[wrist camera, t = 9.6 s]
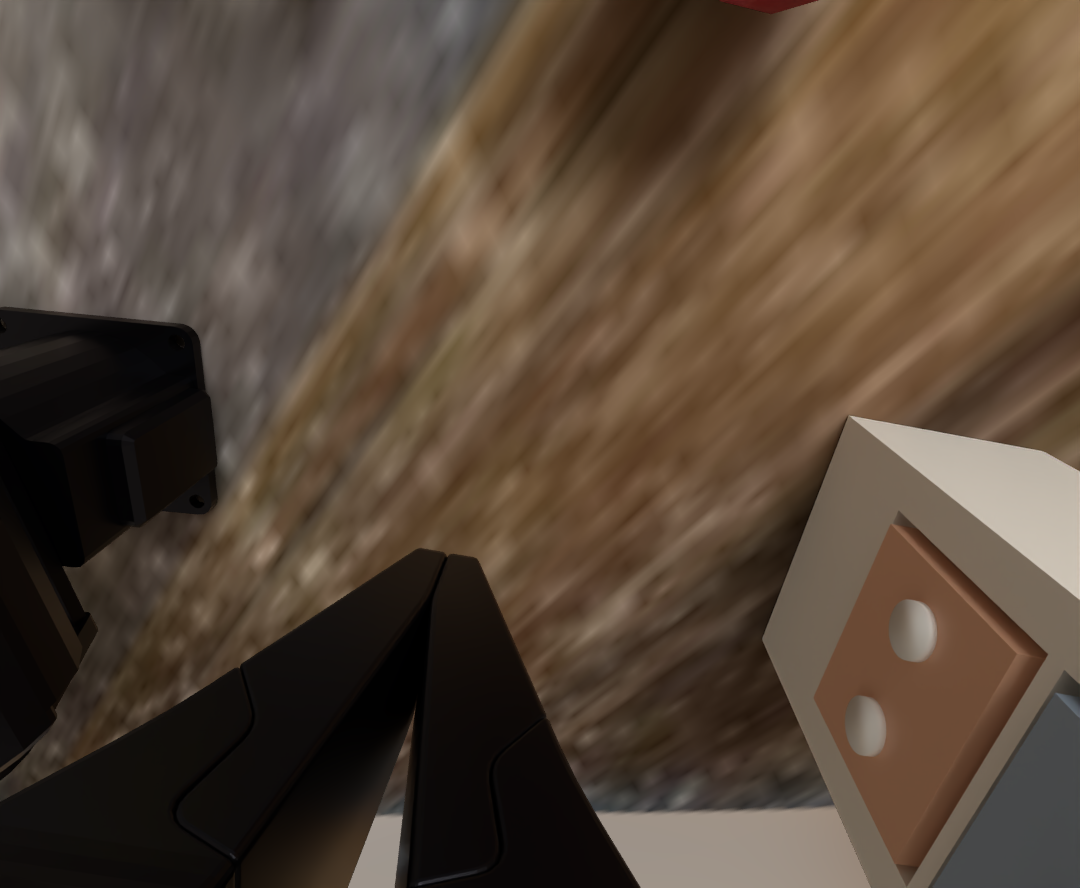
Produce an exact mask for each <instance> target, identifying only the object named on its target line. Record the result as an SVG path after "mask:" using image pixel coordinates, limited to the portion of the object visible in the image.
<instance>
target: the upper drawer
mask: <svg viewBox="0 0 1080 888" xmlns="http://www.w3.org/2000/svg"><path fill="white" fill-rule="evenodd" d="M932 888H1080V697H1076V696H1071V695H1065V694H1059V693H1055V694H1054V695H1053V697H1052V698H1051V700H1050V702H1049V703H1048V705H1047V706H1046V708H1045V709H1044V711H1043V713H1042V714H1041V716H1040V717H1039V719H1038V721H1037V722H1036V724H1035V725H1034V727H1033V729H1032V730H1031V732H1030V733H1029V735H1028V736H1027V738H1026V740H1025V741H1024V743H1023V744H1022V746H1021V748H1020V749H1019V751H1018V752H1017V754H1016V755H1015V757H1014V759H1013V760H1012V762H1011V763H1010V765H1009V767H1008V768H1007V770H1006V771H1005V773H1004V774H1003V776H1002V778H1001V779H1000V781H999V782H998V784H997V786H996V787H995V789H994V790H993V792H992V793H991V795H990V797H989V798H988V800H987V801H986V803H985V805H984V806H983V808H982V809H981V811H980V812H979V814H978V816H977V817H976V819H975V820H974V822H973V824H972V825H971V827H970V828H969V830H968V831H967V833H966V835H965V836H964V838H963V839H962V841H961V843H960V844H959V846H958V847H957V849H956V851H955V852H954V854H953V855H952V857H951V858H950V860H949V862H948V863H947V865H946V866H945V868H944V870H943V871H942V873H941V874H940V876H939V877H938V879H937V881H936V882H935V884H934V885H933V887H932Z"/></svg>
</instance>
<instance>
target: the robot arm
mask: <svg viewBox="0 0 1080 888" xmlns="http://www.w3.org/2000/svg"><path fill="white" fill-rule="evenodd" d="M1 319H2V320H3V321H4V322H5V324H6V326H7V329H5V328H4V327H3V326H2V324H1V322H0V780H2V779H3V778H4V777H5V776H6V775H8V774H9V773H10V772H11V771H12V770H13V769H14V768H15V767H16V766H17V765H18V764H19V763H20V762H21V761H22V760H23V759H24V758H25V757H26V756H27V754H28V753H29V752H30V751H31V749H32V748H33V746H34V745H35V744H36V743H37V742H38V741H39V740H40V739H41V738H42V737H43V736H44V735H45V734H46V733H47V732H48V731H49V729H50V728H51V726H52V725H53V723H54V722H55V720H56V718H57V713H56V711H55V709H56V707H57V705H58V703H59V701H60V699H61V698H62V696H63V694H64V692H65V690H66V688H67V687H68V685H69V683H70V681H71V679H72V678H73V676H74V675H75V674H76V672H77V671H78V668H79V665H80V663H81V661H82V659H83V657H84V655H85V654H86V652H87V650H88V648H89V646H90V644H91V643H92V641H93V639H94V637H95V635H96V633H97V632H98V628H97V626H96V624H95V622H94V620H93V618H92V616H91V614H90V613H89V612H84V610H83V608H82V606H81V604H80V602H79V600H78V598H77V596H76V594H75V592H74V590H73V588H72V586H71V583H70V581H69V579H68V577H67V575H66V573H65V571H64V569H63V567H62V566H67V567H81V566H82V565H83V564H85V563H86V562H87V561H88V560H90V559H91V558H92V557H93V556H95V555H96V554H97V553H99V552H100V551H101V550H102V549H104V548H105V547H106V546H108V545H109V544H110V543H111V542H113V541H114V540H115V539H116V538H118V537H119V536H120V535H122V534H123V533H124V532H125V531H127V530H128V529H129V528H130V527H141V526H143V525H145V524H146V523H147V522H148V521H150V520H151V519H152V518H153V517H155V516H156V515H157V514H158V513H160V512H161V511H168V512H178V513H189V514H205V513H207V512H208V511H210V510H211V509H212V508H213V507H214V506H215V504H216V503H217V489H216V481H215V472H214V468H215V467H216V466H217V454H216V445H215V436H214V427H213V418H212V409H211V400H210V397H209V395H208V394H207V393H206V391H205V384H204V375H203V366H202V358H201V349H200V341H199V338H198V335H197V334H196V332H195V331H194V330H193V329H192V328H191V327H189V326H187V325H184V324H177V323H167V322H156V321H146V320H136V319H126V318H115V317H105V316H95V315H85V314H74V313H64V312H54V311H43V310H33V309H23V308H13V307H0V321H1ZM176 335H179V336H180V337H181V338H183V340H184V342H185V346H184V348H183V347H181V346H180V345H178V344H177V342H176ZM196 495H198V496H201V497H202V498H203V500H204V503H203V502H200V501H199V500H198V499H197V498H196ZM415 708H416V710H415ZM414 711H415V717H414V724H413V732H412V740H411V749H410V758H409V766H408V775H407V784H406V793H405V802H404V811H403V819H402V828H401V837H400V846H399V855H398V865H397V872H396V881H395V888H640V886H639V884H638V883H637V881H636V879H635V878H634V876H633V874H632V873H631V871H630V870H629V868H628V866H627V865H626V863H625V861H624V860H623V858H622V857H621V855H620V853H619V851H618V850H617V848H616V847H615V845H614V843H613V841H612V840H611V838H610V837H609V835H608V834H607V832H606V830H605V828H604V827H603V825H602V823H601V822H600V820H599V818H598V817H597V815H596V813H595V811H594V810H593V808H592V806H591V804H590V803H589V801H588V799H587V797H586V796H585V794H584V792H583V790H582V789H581V787H580V785H579V783H578V782H577V780H576V778H575V776H574V774H573V771H572V769H571V767H570V765H569V763H568V761H567V759H566V757H565V755H564V753H563V751H562V749H561V747H560V745H559V742H558V740H557V738H556V736H555V733H554V731H553V729H552V726H551V724H550V722H549V720H548V719H546V713H545V711H544V709H543V706H542V704H541V702H540V700H539V697H538V695H537V693H536V691H535V688H534V686H533V684H532V681H531V679H530V677H529V675H528V672H527V670H526V668H525V665H524V663H523V661H522V659H521V656H520V654H519V652H518V650H517V647H516V645H515V643H514V640H513V638H512V636H511V634H510V631H509V629H508V627H507V624H506V622H505V620H504V618H503V615H502V613H501V611H500V608H499V606H498V604H497V602H496V599H495V597H494V595H493V593H492V590H491V588H490V586H489V583H488V581H487V579H486V577H485V574H484V572H483V570H482V567H481V565H480V563H479V561H478V559H476V558H474V557H469V556H463V555H457V554H450V555H449V556H448V557H447V556H446V554H445V553H444V552H440V551H434V550H429V549H423V548H418V549H416V550H414V551H413V552H411V553H410V554H408V555H407V556H405V557H404V558H402V559H401V560H399V561H398V562H396V563H394V564H393V565H391V566H390V567H388V568H387V569H385V570H384V571H382V572H381V573H379V574H378V575H376V576H375V577H373V578H372V579H370V580H369V581H367V582H366V583H364V584H362V585H361V586H359V587H358V588H356V589H355V590H353V591H352V592H350V593H349V594H347V595H346V596H344V597H343V598H341V599H340V600H338V601H337V602H335V603H334V604H332V605H330V606H329V607H327V608H326V609H324V610H323V611H321V612H320V613H318V614H317V615H315V616H314V617H312V618H311V619H309V620H308V621H306V622H305V623H303V624H302V625H300V626H298V627H297V628H295V629H294V630H292V631H291V632H289V633H288V634H286V635H285V636H283V637H282V638H280V639H279V640H277V641H276V642H274V643H273V644H271V645H270V646H268V647H266V648H265V649H263V650H262V651H260V652H259V653H257V654H256V655H254V656H253V657H251V658H250V659H248V660H247V661H245V662H244V663H242V664H241V666H240V668H234V669H232V670H231V671H229V672H228V673H226V674H225V675H223V676H222V677H220V678H219V679H217V680H216V681H214V682H213V683H211V684H210V685H208V686H206V687H205V688H203V689H202V690H200V691H198V692H197V693H195V694H194V695H192V696H190V697H189V698H187V699H185V700H184V701H182V702H181V703H179V704H177V705H176V706H174V707H173V708H171V709H169V710H168V711H166V712H164V713H163V714H161V715H159V716H157V717H155V718H154V719H152V720H150V721H148V722H147V723H145V724H143V725H141V726H139V727H138V728H136V729H134V730H132V731H131V732H129V733H127V734H125V735H123V736H122V737H120V738H118V739H116V740H115V741H113V742H111V743H109V744H107V745H105V746H104V747H102V748H100V749H98V750H96V751H94V752H92V753H91V754H89V755H87V756H85V757H83V758H81V759H79V760H77V761H76V762H74V763H72V764H70V765H68V766H66V767H64V768H63V769H61V770H59V771H57V772H55V773H53V774H51V775H50V776H48V777H46V778H44V779H42V780H40V781H38V782H37V783H35V784H33V785H31V786H29V787H27V788H25V789H24V790H22V791H20V792H18V793H16V794H14V795H12V796H10V797H9V798H7V799H5V800H3V801H1V802H0V888H348V886H349V883H350V880H351V878H352V875H353V873H354V870H355V867H356V865H357V862H358V859H359V857H360V854H361V852H362V849H363V846H364V844H365V841H366V839H367V836H368V833H369V831H370V828H371V826H372V823H373V820H374V818H375V815H376V813H377V810H378V807H379V805H380V802H381V800H382V797H383V794H384V792H385V789H386V787H387V784H388V781H389V779H390V776H391V774H392V771H393V768H394V766H395V763H396V761H397V758H398V755H399V753H400V750H401V748H402V745H403V742H404V740H405V737H406V735H407V732H408V729H409V726H410V723H411V720H412V718H413V715H414Z"/></svg>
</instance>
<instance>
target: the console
mask: <svg viewBox="0 0 1080 888" xmlns="http://www.w3.org/2000/svg"><path fill="white" fill-rule="evenodd" d="M890 524H894V525H899V526H905V527H911V528H916V529H919V530H920V531H921V532H922V533H923V534H924V535H925V536H926V537H927V538H928V539H929V540H930V541H931V542H932V543H933V544H934V545H935V546H936V547H937V548H938V549H939V550H940V551H941V552H942V553H944V554H945V555H946V556H947V557H948V558H949V559H950V560H951V561H952V562H953V563H954V564H955V565H956V566H957V567H958V568H959V569H960V570H961V571H962V572H963V573H964V574H965V575H966V576H967V577H968V578H970V579H971V580H972V581H973V582H974V583H975V584H976V585H977V586H978V587H979V588H980V589H981V590H982V591H983V592H984V593H985V594H986V595H987V596H988V597H989V598H990V599H991V600H992V601H993V602H994V603H996V604H997V605H998V606H999V607H1000V608H1001V609H1002V610H1003V611H1004V612H1005V613H1006V614H1007V615H1008V616H1009V617H1010V618H1011V619H1012V620H1013V621H1014V622H1015V623H1016V624H1017V625H1018V626H1019V627H1020V628H1022V629H1023V630H1024V631H1025V632H1026V633H1027V634H1028V635H1029V636H1030V637H1031V638H1032V639H1033V640H1034V641H1035V642H1036V643H1037V644H1038V645H1039V646H1040V647H1041V648H1042V649H1043V650H1044V651H1045V652H1046V653H1047V654H1048V656H1047V657H1046V659H1045V661H1044V662H1043V664H1042V666H1041V667H1040V669H1039V671H1038V672H1037V674H1036V675H1035V677H1034V679H1033V680H1032V682H1031V684H1030V685H1029V687H1028V689H1027V690H1026V692H1025V694H1024V695H1023V697H1022V699H1021V700H1020V702H1019V703H1018V705H1017V707H1016V708H1015V710H1014V712H1013V713H1012V715H1011V717H1010V718H1009V720H1008V722H1007V723H1006V725H1005V726H1004V728H1003V730H1002V731H1001V733H1000V735H999V736H998V738H997V740H996V741H995V743H994V745H993V746H992V748H991V750H990V751H989V753H988V754H987V756H986V758H985V759H984V761H983V763H982V764H981V766H980V768H979V769H978V771H977V773H976V774H975V776H974V777H973V779H972V781H971V782H970V784H969V786H968V787H967V789H966V791H965V792H964V794H963V796H962V797H961V799H960V801H959V802H958V804H957V805H956V807H955V809H954V810H953V812H952V814H951V815H950V817H949V819H948V820H947V822H946V824H945V825H944V827H943V828H942V830H941V832H940V833H939V835H938V837H937V838H936V840H935V842H934V843H933V845H932V847H931V848H930V850H929V852H928V853H927V855H926V856H925V858H924V860H923V861H922V863H921V865H920V866H919V867H913V866H906V865H900V864H894V861H893V859H892V857H891V855H890V853H889V851H888V849H887V847H886V845H885V843H884V841H883V839H882V837H881V835H880V833H879V831H878V829H877V827H876V825H875V823H874V821H873V819H872V817H871V815H870V812H869V810H868V808H867V806H866V804H865V802H864V800H863V798H862V796H861V794H860V792H859V790H858V788H857V786H856V784H855V782H854V780H853V778H852V776H851V774H850V772H849V770H848V768H847V766H846V764H845V761H844V759H843V757H842V755H841V753H840V751H839V749H838V747H837V745H836V743H835V741H834V739H833V737H832V735H831V733H830V731H829V729H828V727H827V725H826V723H825V721H824V719H823V717H822V715H821V712H820V710H819V708H818V706H817V704H816V702H815V700H814V698H813V697H814V695H815V693H816V690H817V688H818V686H819V684H820V681H821V679H822V677H823V675H824V672H825V670H826V668H827V666H828V663H829V661H830V659H831V657H832V654H833V652H834V650H835V648H836V645H837V643H838V641H839V639H840V636H841V634H842V632H843V630H844V627H845V625H846V623H847V621H848V618H849V616H850V614H851V612H852V610H853V607H854V605H855V603H856V601H857V598H858V596H859V594H860V592H861V589H862V587H863V585H864V583H865V580H866V578H867V576H868V574H869V571H870V569H871V567H872V565H873V562H874V560H875V558H876V556H877V553H878V551H879V549H880V547H881V544H882V542H883V540H884V538H885V535H886V533H887V531H888V529H889V526H890ZM762 641H763V643H764V645H765V647H766V650H767V652H768V654H769V657H770V659H771V661H772V663H773V666H774V668H775V670H776V672H777V675H778V677H779V679H780V682H781V684H782V686H783V688H784V691H785V693H786V695H787V697H788V700H789V702H790V704H791V707H792V709H793V711H794V713H795V716H796V718H797V720H798V723H799V725H800V727H801V729H802V732H803V734H804V736H805V738H806V741H807V743H808V745H809V748H810V750H811V752H812V754H813V757H814V759H815V761H816V763H817V766H818V768H819V770H820V773H821V775H822V777H823V779H824V782H825V784H826V786H827V788H828V791H829V793H830V795H831V798H832V800H833V802H834V804H835V807H836V809H837V811H838V813H839V816H840V818H841V820H842V823H843V825H844V827H845V829H846V832H847V834H848V836H849V839H850V841H851V843H852V845H853V847H854V850H855V852H856V854H857V857H858V859H859V861H860V863H861V866H862V868H863V870H864V873H865V875H866V877H867V879H868V882H869V884H870V886H871V888H932V887H933V885H934V884H935V882H936V881H937V879H938V877H939V876H940V874H941V873H942V871H943V870H944V868H945V866H946V865H947V863H948V862H949V860H950V858H951V857H952V855H953V854H954V852H955V851H956V849H957V847H958V846H959V844H960V843H961V841H962V839H963V838H964V836H965V835H966V833H967V831H968V830H969V828H970V827H971V825H972V824H973V822H974V820H975V819H976V817H977V816H978V814H979V812H980V811H981V809H982V808H983V806H984V805H985V803H986V801H987V800H988V798H989V797H990V795H991V793H992V792H993V790H994V789H995V787H996V786H997V784H998V782H999V781H1000V779H1001V778H1002V776H1003V774H1004V773H1005V771H1006V770H1007V768H1008V767H1009V765H1010V763H1011V762H1012V760H1013V759H1014V757H1015V755H1016V754H1017V752H1018V751H1019V749H1020V748H1021V746H1022V744H1023V743H1024V741H1025V740H1026V738H1027V736H1028V735H1029V733H1030V732H1031V730H1032V729H1033V727H1034V725H1035V724H1036V722H1037V721H1038V719H1039V717H1040V716H1041V714H1042V713H1043V711H1044V709H1045V708H1046V706H1047V705H1048V703H1049V702H1050V700H1051V698H1052V697H1053V695H1054V694H1055V693H1059V694H1065V695H1071V696H1076V697H1080V471H1078V470H1076V469H1074V468H1073V467H1071V466H1069V465H1067V464H1065V463H1063V462H1062V461H1060V460H1058V459H1056V458H1054V457H1053V456H1051V455H1049V454H1047V453H1045V452H1043V451H1039V450H1033V449H1028V448H1022V447H1017V446H1011V445H1006V444H1001V443H995V442H990V441H984V440H979V439H973V438H968V437H963V436H957V435H952V434H946V433H941V432H936V431H930V430H925V429H919V428H914V427H908V426H903V425H898V424H892V423H887V422H881V421H876V420H870V419H865V418H860V417H854V416H848V419H847V421H846V424H845V426H844V429H843V431H842V434H841V437H840V439H839V442H838V444H837V447H836V449H835V452H834V455H833V457H832V460H831V462H830V465H829V468H828V470H827V473H826V475H825V478H824V480H823V483H822V486H821V488H820V491H819V493H818V496H817V498H816V501H815V504H814V506H813V509H812V511H811V514H810V517H809V519H808V522H807V524H806V527H805V529H804V532H803V535H802V537H801V540H800V542H799V545H798V547H797V550H796V553H795V555H794V558H793V560H792V563H791V566H790V568H789V571H788V573H787V576H786V578H785V581H784V584H783V586H782V589H781V591H780V594H779V596H778V599H777V602H776V604H775V607H774V609H773V612H772V615H771V617H770V620H769V622H768V625H767V627H766V630H765V633H764V635H763V638H762Z"/></svg>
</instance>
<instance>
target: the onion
mask: <svg viewBox="0 0 1080 888" xmlns="http://www.w3.org/2000/svg"><path fill="white" fill-rule="evenodd" d="M719 1H721V2H725V3H729V4H733V5H737V6H741V7H745V8H749V9H753V10H757V11H761V12H765V13H769V14H773V13H777V12H780V11H784V10H787V9H791V8H794V7H797V6H801V5H804V4H808V3H811V2H814V1H818V0H719Z"/></svg>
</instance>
